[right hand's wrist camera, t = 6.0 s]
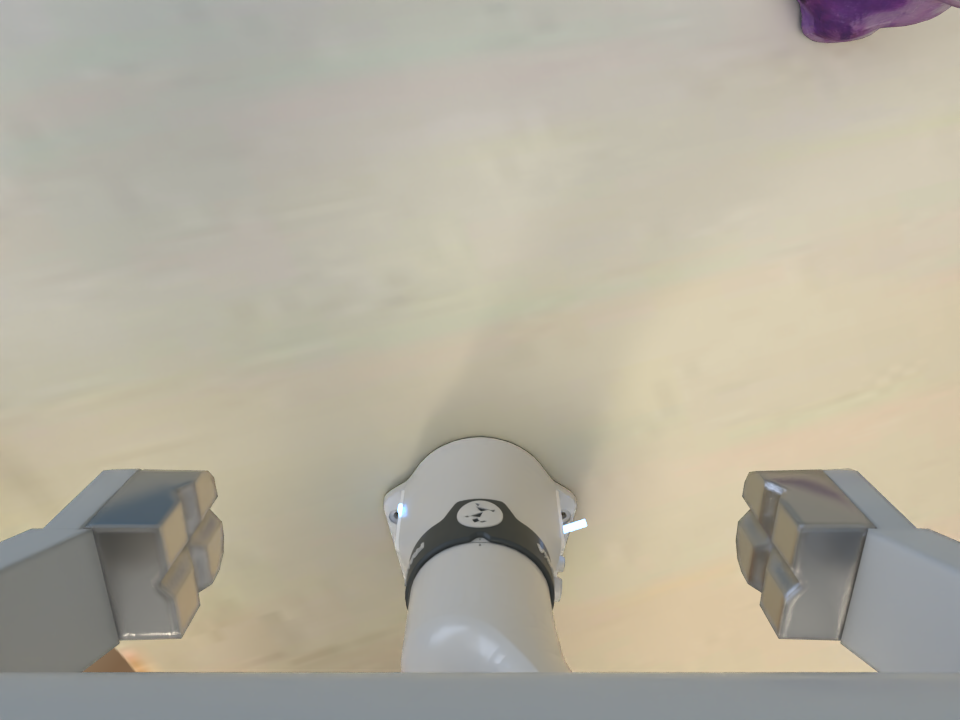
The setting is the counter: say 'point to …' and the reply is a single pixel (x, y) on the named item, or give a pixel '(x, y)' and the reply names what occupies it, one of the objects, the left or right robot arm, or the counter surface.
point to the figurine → (864, 16)
